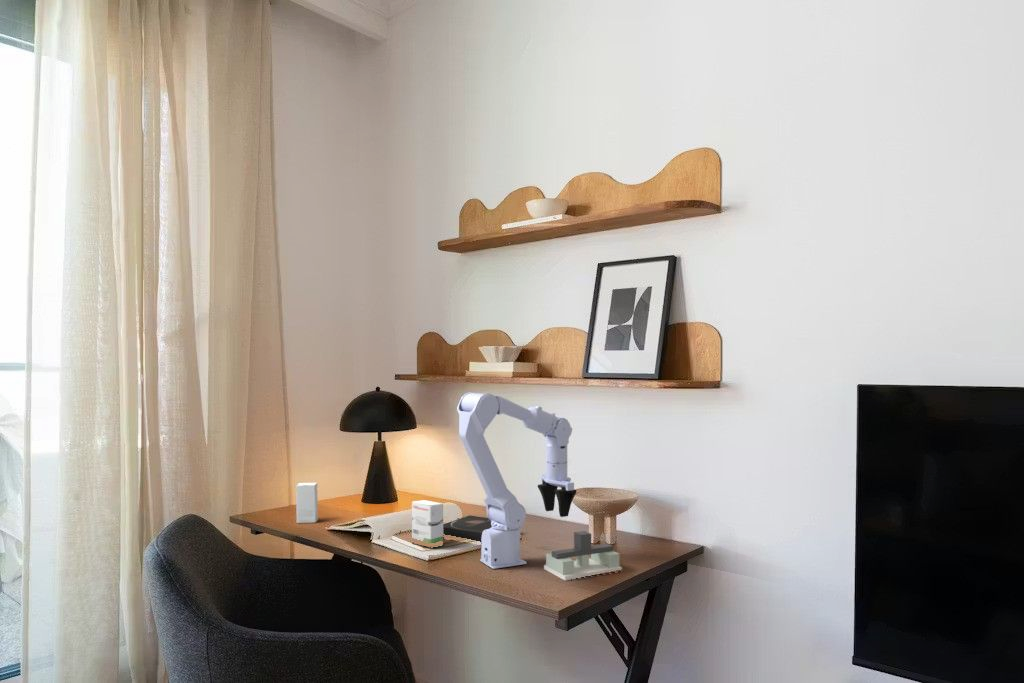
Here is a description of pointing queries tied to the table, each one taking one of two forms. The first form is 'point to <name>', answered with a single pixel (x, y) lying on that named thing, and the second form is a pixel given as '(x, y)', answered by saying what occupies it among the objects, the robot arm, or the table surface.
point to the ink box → (427, 521)
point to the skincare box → (306, 502)
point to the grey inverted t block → (582, 547)
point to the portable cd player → (467, 527)
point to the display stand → (582, 565)
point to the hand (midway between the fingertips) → (556, 513)
